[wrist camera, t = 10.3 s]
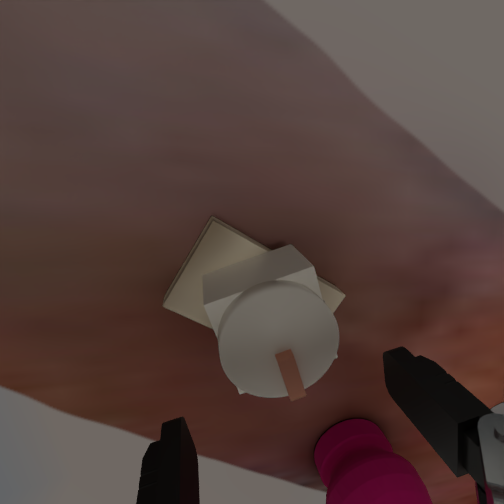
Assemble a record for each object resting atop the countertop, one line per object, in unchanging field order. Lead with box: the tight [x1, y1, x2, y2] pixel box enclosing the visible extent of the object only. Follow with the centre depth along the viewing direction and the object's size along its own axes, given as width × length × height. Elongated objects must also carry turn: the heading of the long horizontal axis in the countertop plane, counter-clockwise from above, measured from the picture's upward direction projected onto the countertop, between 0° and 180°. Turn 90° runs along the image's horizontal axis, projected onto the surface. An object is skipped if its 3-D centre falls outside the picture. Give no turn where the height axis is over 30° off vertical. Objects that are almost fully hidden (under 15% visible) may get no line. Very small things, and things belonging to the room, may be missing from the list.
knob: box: [202, 244, 339, 402], centre depth 17 cm, size 6×6×6 cm
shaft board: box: [162, 216, 346, 329], centre depth 19 cm, size 10×6×5 cm, turn 58°
